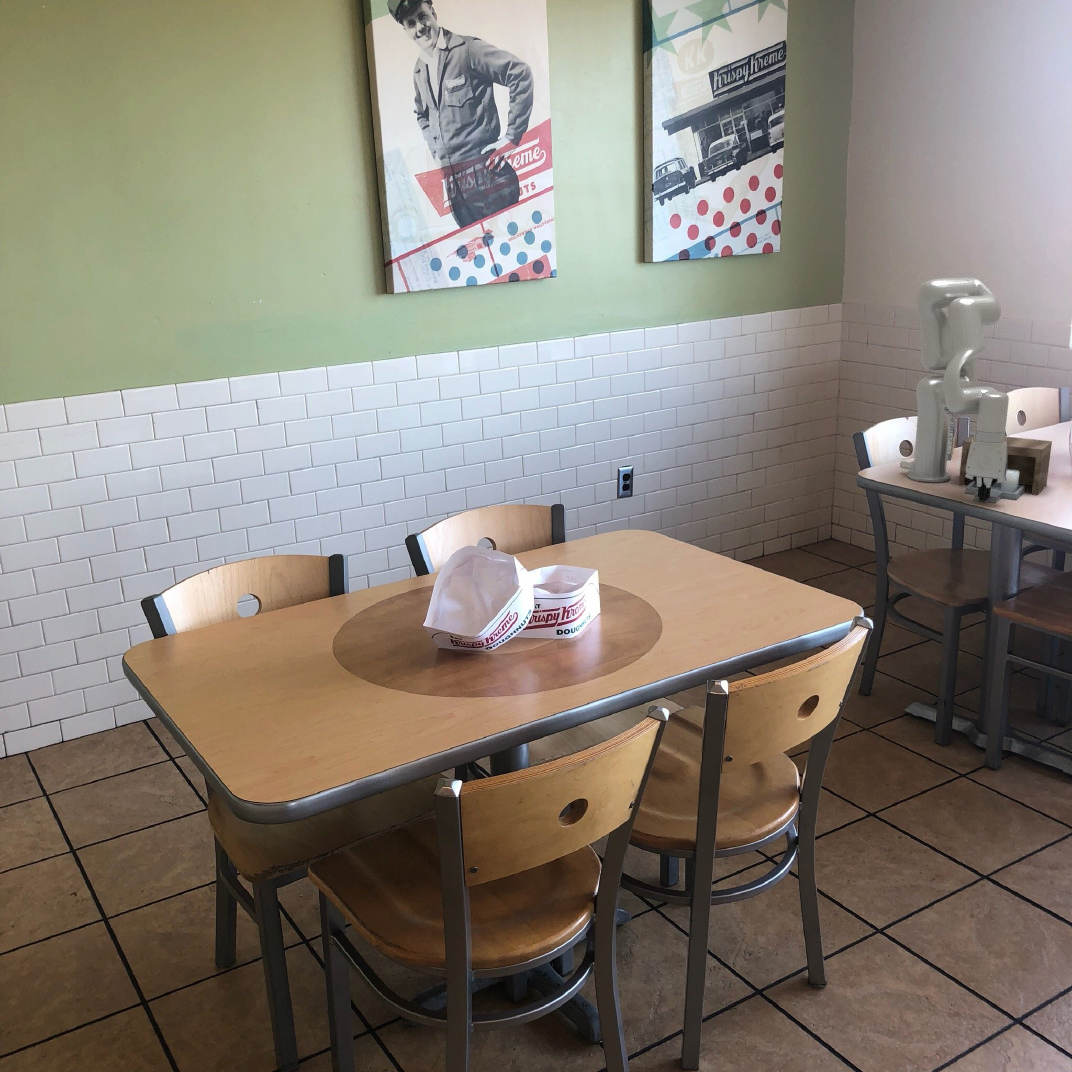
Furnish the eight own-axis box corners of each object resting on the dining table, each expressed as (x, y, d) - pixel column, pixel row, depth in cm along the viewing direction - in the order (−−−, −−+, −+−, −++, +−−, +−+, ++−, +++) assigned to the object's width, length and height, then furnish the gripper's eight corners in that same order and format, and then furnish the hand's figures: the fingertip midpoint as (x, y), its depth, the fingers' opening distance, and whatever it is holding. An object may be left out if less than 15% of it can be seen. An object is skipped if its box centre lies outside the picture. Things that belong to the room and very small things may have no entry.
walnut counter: (958, 484, 318) (962, 441, 314) (969, 476, 327) (973, 433, 323) (1037, 495, 305) (1042, 449, 301) (1046, 485, 314) (1052, 441, 310)
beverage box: (928, 458, 349) (934, 392, 342) (931, 451, 358) (937, 386, 352) (950, 460, 346) (957, 393, 339) (953, 452, 356) (959, 387, 349)
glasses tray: (959, 498, 305) (961, 476, 303) (974, 485, 317) (976, 464, 315) (1010, 505, 297) (1013, 482, 295) (1024, 491, 309) (1026, 470, 307)
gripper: (958, 436, 295) (952, 499, 301) (1015, 442, 286) (1007, 507, 292) (966, 431, 301) (960, 493, 306) (1022, 436, 292) (1014, 500, 298)
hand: (983, 499), depth 299 cm, fingers closed
